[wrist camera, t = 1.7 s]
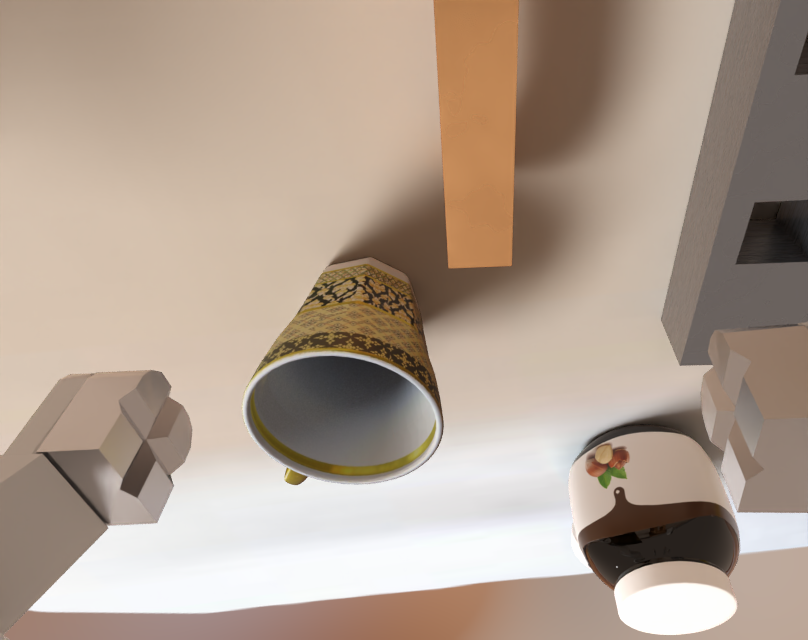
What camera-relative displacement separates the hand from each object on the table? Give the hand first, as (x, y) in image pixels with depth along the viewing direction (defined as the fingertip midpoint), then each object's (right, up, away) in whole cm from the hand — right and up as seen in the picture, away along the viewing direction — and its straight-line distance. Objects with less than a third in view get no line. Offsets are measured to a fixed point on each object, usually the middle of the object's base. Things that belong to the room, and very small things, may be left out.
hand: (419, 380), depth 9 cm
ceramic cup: (-3, +1, +29) cm, 30 cm away
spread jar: (+17, -11, +38) cm, 43 cm away
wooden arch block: (+3, +13, +19) cm, 23 cm away
